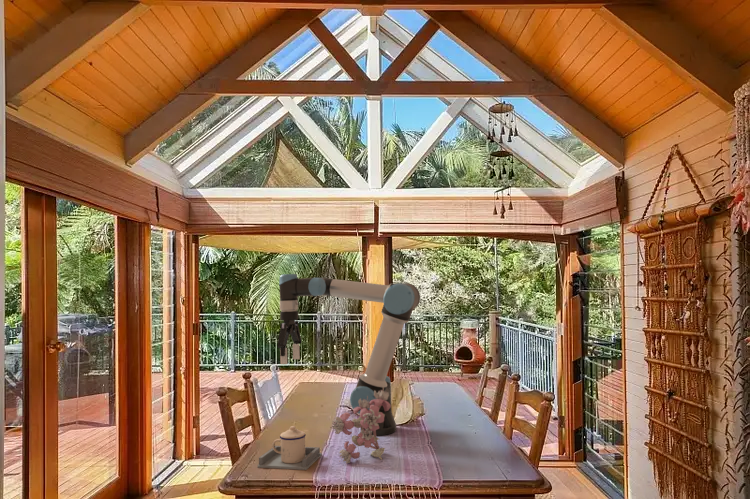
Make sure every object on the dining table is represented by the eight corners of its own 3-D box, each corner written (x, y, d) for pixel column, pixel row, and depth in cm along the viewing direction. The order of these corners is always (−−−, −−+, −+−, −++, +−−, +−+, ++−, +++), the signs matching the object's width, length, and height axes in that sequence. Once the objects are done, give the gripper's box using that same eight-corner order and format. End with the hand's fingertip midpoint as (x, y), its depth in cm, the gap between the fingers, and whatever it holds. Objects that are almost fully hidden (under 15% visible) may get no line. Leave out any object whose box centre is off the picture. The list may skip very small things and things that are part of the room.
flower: (338, 442, 217) (327, 389, 208) (396, 435, 217) (387, 381, 207) (336, 482, 199) (324, 426, 189) (399, 474, 198) (390, 418, 189)
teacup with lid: (308, 455, 205) (307, 423, 206) (303, 463, 196) (302, 429, 196) (276, 456, 206) (275, 423, 206) (269, 464, 197) (268, 430, 197)
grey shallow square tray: (321, 455, 207) (321, 446, 208) (306, 469, 192) (305, 460, 192) (276, 453, 212) (276, 444, 212) (257, 467, 196) (257, 458, 196)
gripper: (285, 312, 224) (287, 366, 223) (308, 308, 249) (309, 357, 248) (268, 312, 226) (269, 366, 225) (292, 309, 250) (293, 357, 249)
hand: (290, 361), depth 236 cm, fingers open, 13 cm apart
